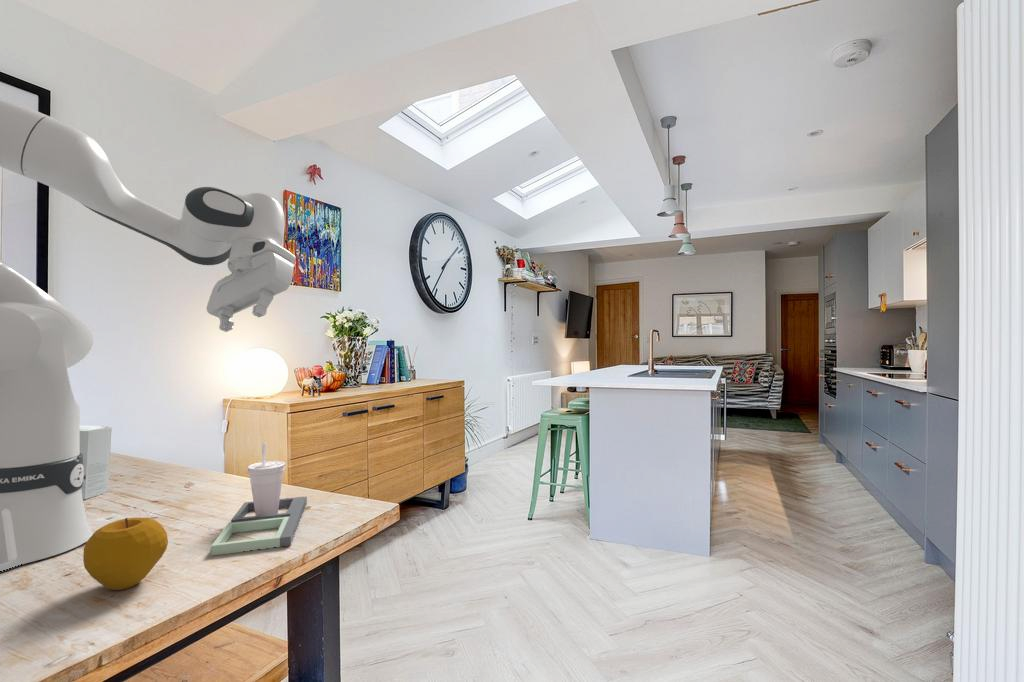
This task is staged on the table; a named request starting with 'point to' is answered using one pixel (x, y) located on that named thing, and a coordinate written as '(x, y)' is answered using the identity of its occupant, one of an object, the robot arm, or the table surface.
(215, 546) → the rail
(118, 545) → the apple
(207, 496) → the table surface
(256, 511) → the smoothie
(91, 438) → the skincare box
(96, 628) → the table surface
